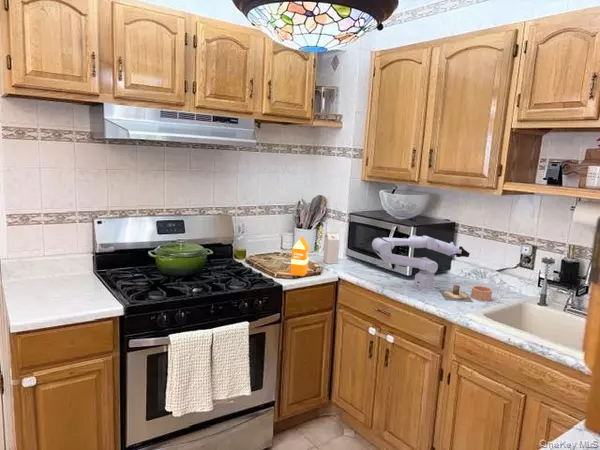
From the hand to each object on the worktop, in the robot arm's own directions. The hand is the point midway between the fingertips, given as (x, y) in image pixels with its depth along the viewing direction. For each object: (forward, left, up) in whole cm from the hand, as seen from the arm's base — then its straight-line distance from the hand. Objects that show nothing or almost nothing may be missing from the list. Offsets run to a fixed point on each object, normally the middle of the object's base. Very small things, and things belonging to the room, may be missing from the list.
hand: (464, 254), depth 231 cm
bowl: (-4, -16, -18) cm, 25 cm away
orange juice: (-67, +53, -18) cm, 87 cm away
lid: (-14, -9, -18) cm, 25 cm away
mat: (-14, -9, -18) cm, 25 cm away
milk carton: (-37, +67, -18) cm, 78 cm away
